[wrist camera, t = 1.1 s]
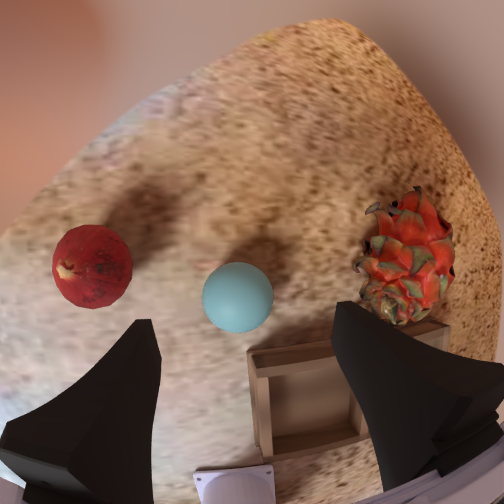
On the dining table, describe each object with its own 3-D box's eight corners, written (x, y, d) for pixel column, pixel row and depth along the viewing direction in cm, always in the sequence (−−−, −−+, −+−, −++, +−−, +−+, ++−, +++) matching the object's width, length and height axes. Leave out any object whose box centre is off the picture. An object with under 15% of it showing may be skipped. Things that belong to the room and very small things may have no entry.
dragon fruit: (348, 321, 26) (374, 204, 28) (432, 340, 22) (452, 218, 24) (334, 313, 19) (367, 158, 21) (453, 339, 15) (470, 174, 17)
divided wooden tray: (421, 399, 26) (439, 411, 23) (255, 443, 24) (260, 465, 20) (430, 316, 26) (452, 323, 23) (246, 351, 23) (252, 366, 20)
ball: (268, 319, 24) (282, 337, 19) (206, 325, 23) (205, 345, 18) (264, 257, 24) (278, 260, 19) (200, 263, 23) (196, 267, 18)
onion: (145, 230, 22) (112, 222, 14) (141, 302, 22) (108, 328, 14) (81, 225, 22) (29, 217, 14) (78, 294, 22) (26, 313, 14)
